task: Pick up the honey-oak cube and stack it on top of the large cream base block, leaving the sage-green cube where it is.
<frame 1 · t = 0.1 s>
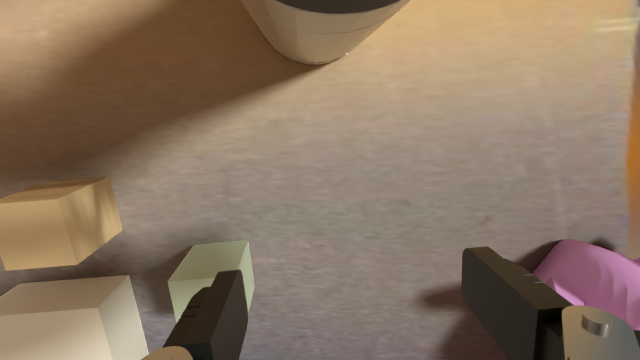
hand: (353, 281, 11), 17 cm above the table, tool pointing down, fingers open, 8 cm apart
sage cube: (225, 265, 30), on the table
teakettle: (568, 302, 34), on the table
oak cube: (87, 206, 28), on the table
cream base block: (90, 322, 31), on the table
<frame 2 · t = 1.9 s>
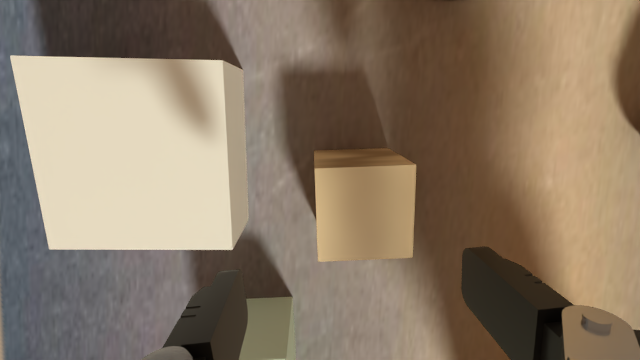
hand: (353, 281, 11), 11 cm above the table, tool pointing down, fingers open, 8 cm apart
sage cube: (261, 326, 24), on the table
oak cube: (351, 185, 22), on the table
cream base block: (171, 147, 21), on the table
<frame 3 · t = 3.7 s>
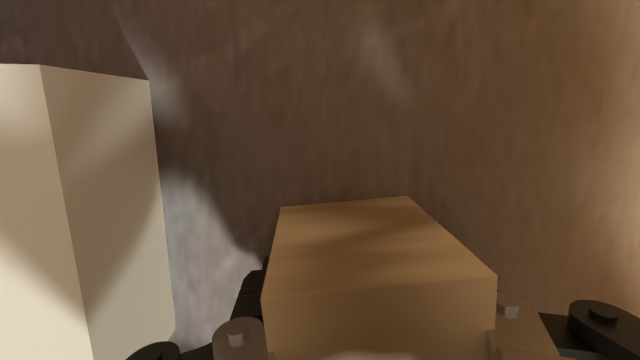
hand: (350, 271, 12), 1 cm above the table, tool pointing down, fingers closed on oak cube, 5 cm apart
oak cube: (348, 259, 13), on the table, touching gripper
cream base block: (34, 213, 12), on the table
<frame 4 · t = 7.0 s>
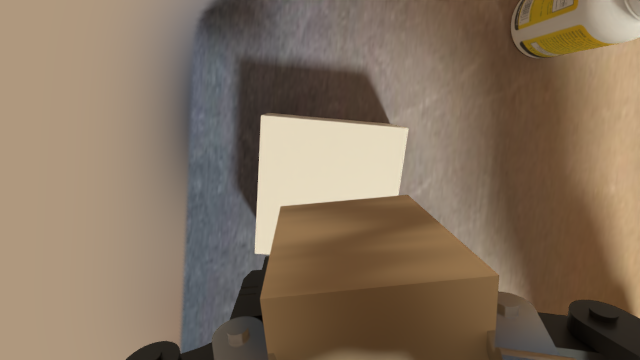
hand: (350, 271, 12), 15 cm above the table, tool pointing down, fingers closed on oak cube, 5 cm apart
oak cube: (348, 258, 13), point 14 cm above the table, touching gripper
supplement bottle: (539, 23, 25), on the table
cream base block: (324, 177, 27), on the table
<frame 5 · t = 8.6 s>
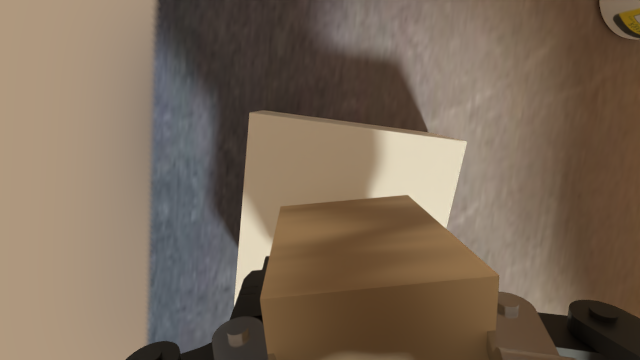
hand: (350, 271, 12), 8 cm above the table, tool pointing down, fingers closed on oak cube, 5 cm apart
oak cube: (348, 258, 13), point 7 cm above the table, touching gripper
cream base block: (335, 199, 20), on the table
when the fingers open (7 cm above the table, at t = 10.1 s): oak cube drops 1 cm, resting on cream base block.
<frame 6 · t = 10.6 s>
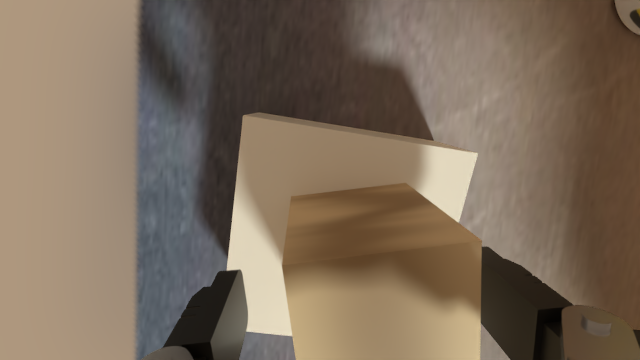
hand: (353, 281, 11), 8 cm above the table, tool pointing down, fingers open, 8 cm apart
oak cube: (353, 242, 14), point 5 cm above the table, touching cream base block
cream base block: (332, 209, 19), on the table, touching oak cube
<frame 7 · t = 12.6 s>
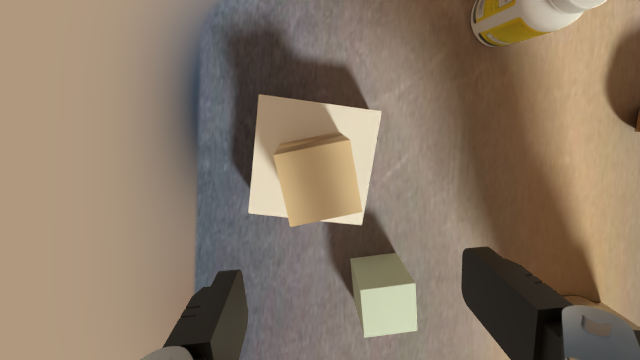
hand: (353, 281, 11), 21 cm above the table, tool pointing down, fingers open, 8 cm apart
sage cube: (374, 276, 35), on the table
oak cube: (315, 166, 27), point 5 cm above the table, touching cream base block
supplement bottle: (496, 17, 29), on the table
cream base block: (311, 154, 31), on the table, touching oak cube
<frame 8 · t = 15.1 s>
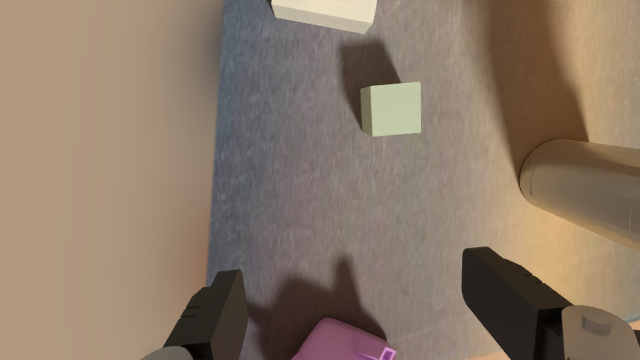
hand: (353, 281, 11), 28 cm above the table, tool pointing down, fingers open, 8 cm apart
sage cube: (381, 108, 38), on the table
teakettle: (334, 358, 46), on the table
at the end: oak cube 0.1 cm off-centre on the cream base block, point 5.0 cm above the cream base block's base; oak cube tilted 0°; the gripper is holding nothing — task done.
